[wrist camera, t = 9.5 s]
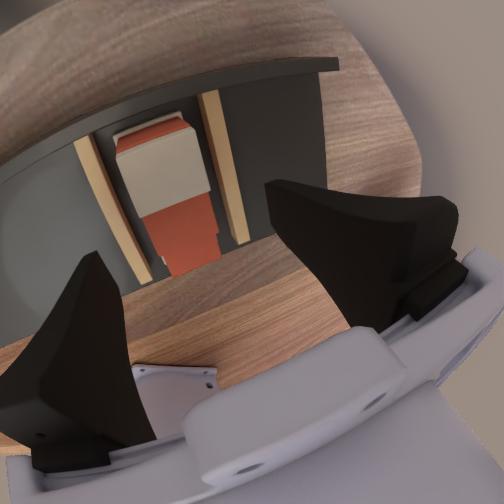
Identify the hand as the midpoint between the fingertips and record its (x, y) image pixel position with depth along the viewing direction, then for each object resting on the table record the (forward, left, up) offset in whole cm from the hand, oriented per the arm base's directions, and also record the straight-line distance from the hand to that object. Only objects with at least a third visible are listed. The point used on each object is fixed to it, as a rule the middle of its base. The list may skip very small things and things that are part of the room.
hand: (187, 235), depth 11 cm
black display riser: (+3, +3, -7) cm, 8 cm away
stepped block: (0, 0, -5) cm, 5 cm away
